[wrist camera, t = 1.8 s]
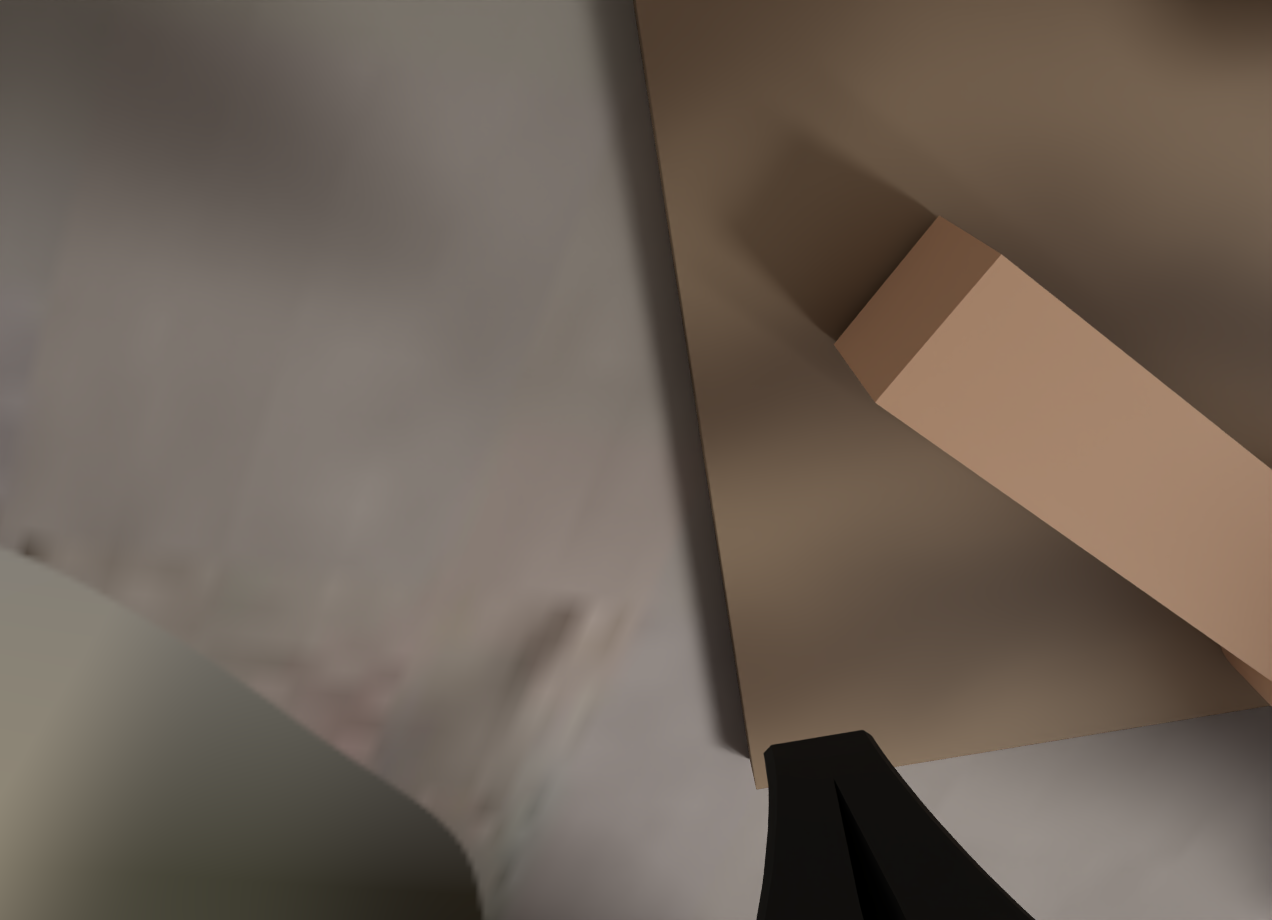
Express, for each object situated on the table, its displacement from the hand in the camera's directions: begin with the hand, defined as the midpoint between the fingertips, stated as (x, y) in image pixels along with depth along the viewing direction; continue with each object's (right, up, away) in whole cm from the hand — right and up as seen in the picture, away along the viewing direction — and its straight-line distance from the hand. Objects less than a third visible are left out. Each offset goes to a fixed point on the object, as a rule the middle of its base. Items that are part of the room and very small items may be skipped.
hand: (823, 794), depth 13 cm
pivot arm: (+8, +4, +8) cm, 12 cm away
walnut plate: (+7, +7, +8) cm, 13 cm away
